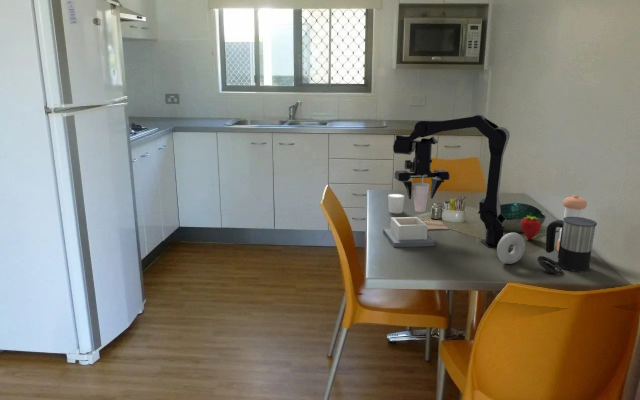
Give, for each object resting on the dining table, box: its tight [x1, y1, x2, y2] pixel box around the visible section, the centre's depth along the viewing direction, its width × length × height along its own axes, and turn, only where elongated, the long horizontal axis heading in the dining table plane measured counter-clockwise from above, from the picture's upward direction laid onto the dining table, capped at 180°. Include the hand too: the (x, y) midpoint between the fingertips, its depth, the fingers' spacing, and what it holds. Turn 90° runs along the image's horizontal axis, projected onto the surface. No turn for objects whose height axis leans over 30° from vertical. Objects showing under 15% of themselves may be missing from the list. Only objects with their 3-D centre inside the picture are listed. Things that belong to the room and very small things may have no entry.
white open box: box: [382, 216, 436, 248], centre depth 185 cm, size 16×14×6 cm
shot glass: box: [387, 193, 405, 214], centre depth 220 cm, size 7×7×7 cm
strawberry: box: [520, 213, 542, 240], centre depth 186 cm, size 6×8×10 cm
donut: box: [496, 232, 526, 265], centre depth 163 cm, size 10×3×10 cm, turn 113°
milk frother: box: [537, 217, 598, 274], centre depth 158 cm, size 14×16×15 cm
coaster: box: [422, 219, 450, 231], centre depth 202 cm, size 11×11×1 cm
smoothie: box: [412, 178, 431, 213], centre depth 189 cm, size 6×6×14 cm
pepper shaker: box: [556, 194, 588, 252], centre depth 173 cm, size 7×7×19 cm
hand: (420, 198), depth 190 cm, fingers closed on smoothie, 8 cm apart
